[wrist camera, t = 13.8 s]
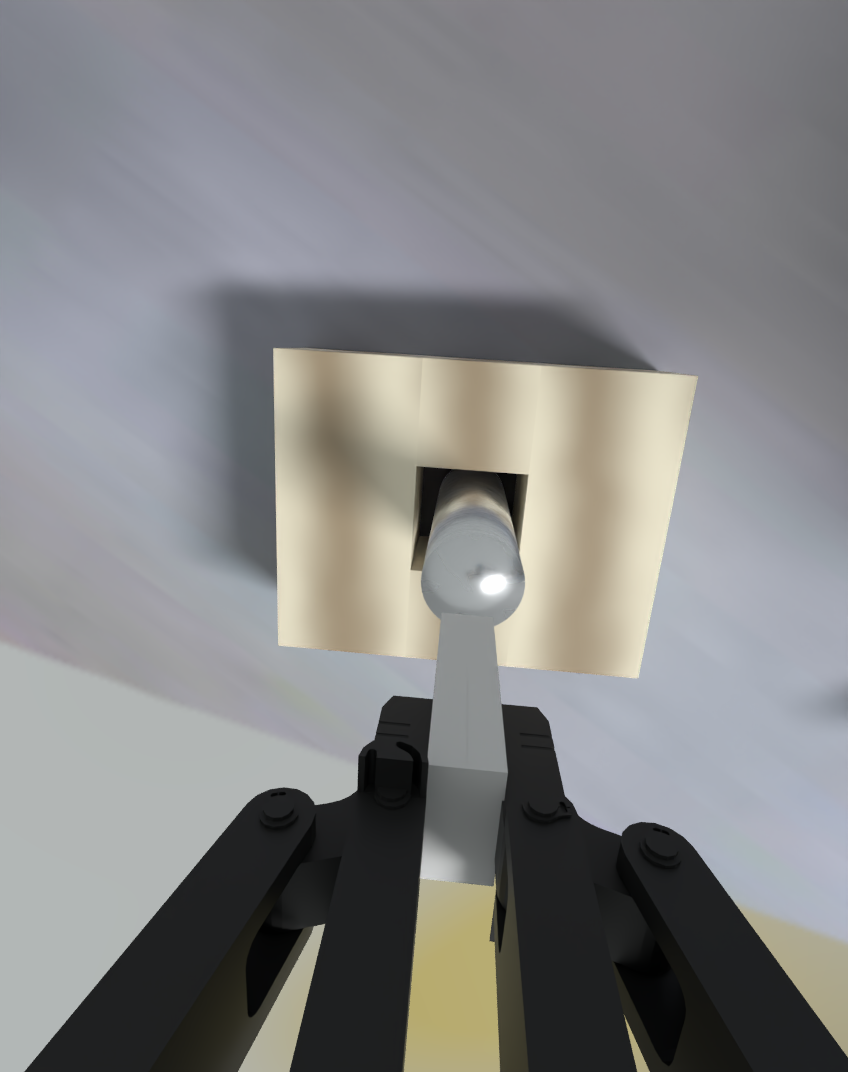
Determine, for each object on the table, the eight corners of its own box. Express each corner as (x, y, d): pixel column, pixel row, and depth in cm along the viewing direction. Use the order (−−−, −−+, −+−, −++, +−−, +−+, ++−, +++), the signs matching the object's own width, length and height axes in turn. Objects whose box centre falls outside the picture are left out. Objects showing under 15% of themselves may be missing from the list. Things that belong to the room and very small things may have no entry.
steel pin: (508, 466, 35) (531, 538, 22) (501, 530, 37) (519, 634, 23) (441, 461, 36) (424, 529, 22) (436, 524, 37) (417, 625, 23)
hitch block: (658, 370, 33) (698, 376, 27) (612, 628, 38) (638, 678, 32) (306, 347, 34) (273, 348, 28) (306, 601, 39) (278, 645, 33)
